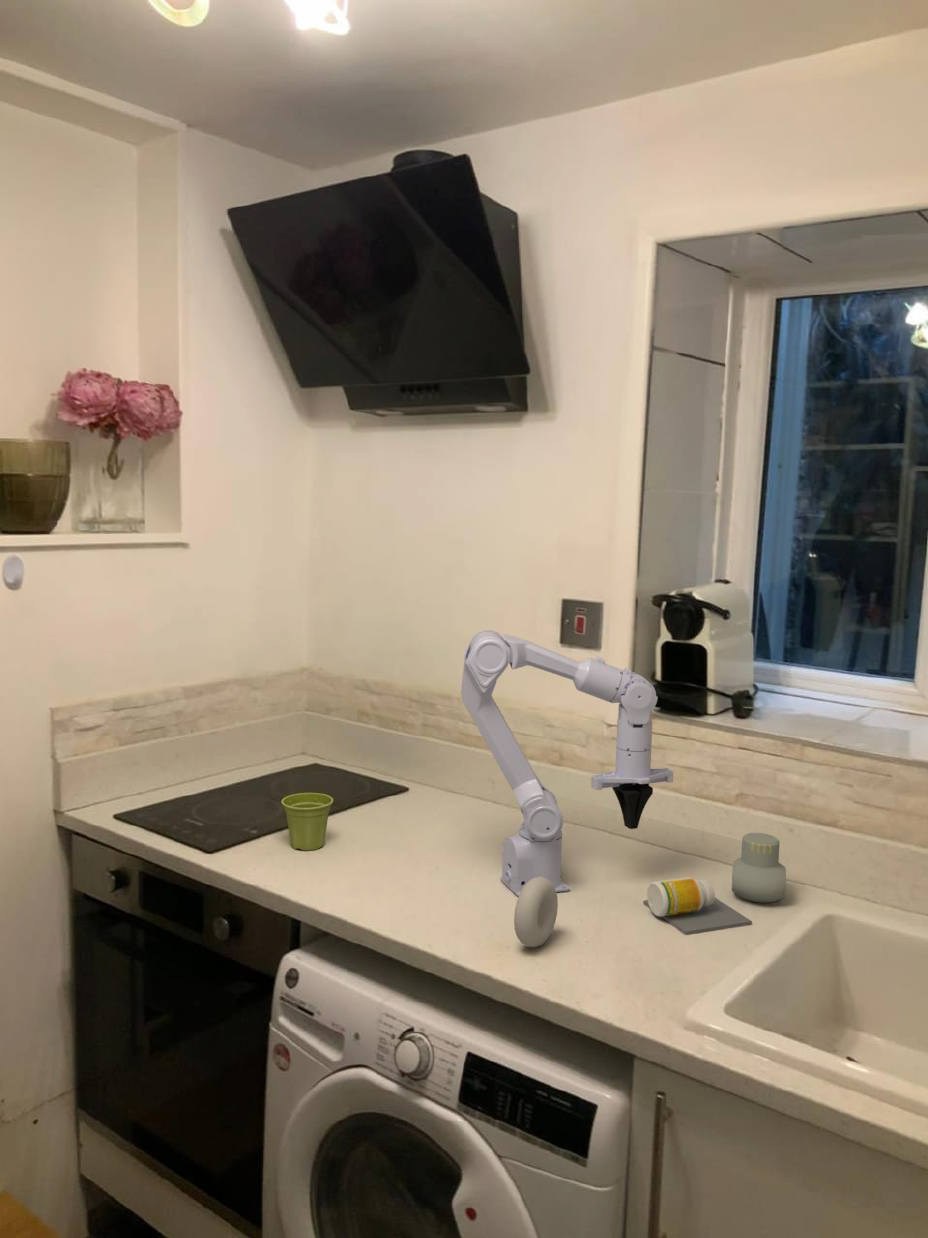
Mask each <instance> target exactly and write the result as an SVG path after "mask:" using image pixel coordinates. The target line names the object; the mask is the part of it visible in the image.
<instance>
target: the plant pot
mask: <svg viewBox="0 0 928 1238" xmlns="http://www.w3.org/2000/svg"><path fill="white" fill-rule="evenodd" d="M333 804H334V798H333V797H331V795H328V794H324V793H319V792H318V793H317V792H302V793H301V792H299V793H294V794H291V795H288V796H284V797H283V798H282V800H281V805H282V806H283V808H284V812H285V813H286V821H287V827H288V833H289V842H290V847H291V848H292V849H294V850H297V849H299V850H301V851H307V852H308V851H314V850H319V849H320V848H321V847H324V845H325V843H326V841H325V840H326V834H327V826H328V820H329V812H330V810H331V807H332V805H333Z"/></svg>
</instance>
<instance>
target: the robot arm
mask: <svg viewBox="0 0 928 1238" xmlns="http://www.w3.org/2000/svg"><path fill="white" fill-rule="evenodd" d="M463 659H464V661H463V671H462V682H461V692H460V693H461V694H460V695H461V699H462V703H463V704H464V705H465V707H466V709H467V711H468V713H469V715H470V717H471V718H472V720H473V722H474V723H475V726H476V728H477V729H478V731H479V732H480V734H481V737H482V738H483V740H484V742H485V743H486V745H487V747H488V749H489V750H490V753H491V754H492V756H493V757H494V760H495V761H496V763H497V765H498V766H499V768H500V770H501V772H502V773H503V775H504V778H505V779H506V781H507V782H508V785H509V787H510V788H511V790H512V792H513V794H514V796H515V798H516V801H517V802H518V805H519V807H520V811H521V814H522V817H523V819H524V821H523V822H522V824H521V825H520V827H519V828H518V832H517V833H516V834H514V835H512V836H508V837H506V838H505V839H504V841H503V845H502V867H501V869H502V870H501V873H502V874H501V876H500V878H499V880H500V881H501V882H502V883H503V884H504V885H505V886H506V887H507V888H508V889H510V890H511V892H512V893H514V895H516V896H517V897H519V895H520V892H521V890H522V889H523V887H524V885H525V884H526V883H527V882H528V881H530V880H531V879H533V878H536V877H543V878H546V879H548V880H550V881H551V882H552V884H553V885H554V887H555V889H556V893H558V892H559V893H560V892H567V891H570V890H571V887H570V886H569V885H568V884H567V883H565V882H564V881H563V880H562V879H561V873H562V872H561V869H562V849H563V848H562V846H563V845H562V844H563V843H562V842H563V831H562V828H563V826H564V818H563V817H564V816H563V813H562V812H561V810H560V807H559V806H558V802H557V801H558V800H557V797H556V796H555V794H554V793H553V792H552V791H550V790H549V789H548V788H546V787H545V785H543V784H542V782H541V780H540V779H539V777H538V776H537V774H536V773H535V771H534V769H533V768H532V766H531V764H530V762H529V760H528V759H527V757H526V755H525V753H524V751H523V749H522V748H521V746H520V744H519V742H518V741H517V739H516V737H515V736H514V733H513V732H512V730H511V728H510V726H509V724H508V723H507V721H506V718H505V717H504V716H503V713H502V712H501V710H500V708H499V706H498V705H497V703H496V701H495V699H494V698H493V696H492V695H493V692H494V689H495V687H496V684H497V680H498V679H499V678H500V677H501V676H502V674H503V673H504V672H505V671H506V669H507V668H508V666H509V665H510V668H511V670H517V669H519V668H523V667H527V666H528V667H529V666H530V667H533V668H534V669H535V668H536V669H539V670H542V671H545V672H548V673H550V674H553V675H556V676H560V677H563V678H566V679H569V680H571V681H572V682H573V684H574V686H575V689H576V690H577V691H579V692H582V693H585V694H586V695H589V696H592V697H595V698H597V699H600V700H602V701H605V702H608V703H610V704H618V703H619V704H618V712H617V713H618V715H617V720H616V749H615V770H612V771H607V772H604V773H601V774H595V775H591V779H590V783H591V785H590V786H591V788H592V789H594V790H596V791H600V790H603V789H605V788H606V789H607V788H612V790H613V792H614V794H615V796H616V799H617V801H618V803H619V807H620V810H621V814H622V818H623V823H624V824H623V825H624V827H626V828H627V829H629V830H635V829H638V827H639V824H640V820H641V817H642V814H643V811H644V808H645V806H646V804H647V803H648V801H649V799H650V798H651V796H652V795H653V793H654V792H653V791H654V788H653V787H652V786H651V785H650V784H656V783H665V782H666V783H669V784H670V783H673V782H674V770H671V769H670V768H651V765H652V764H651V762H652V745H653V744H652V742H653V741H652V739H653V720H652V719H653V710H654V708H656V707H655V706H656V705H657V704H658V698H659V697H658V696H657V692H656V689H655V687H654V685H653V684H652V683H650V682H649V681H648V680H647V678H645V677H644V676H642V675H641V674H638V673H637V672H634V671H632V670H631V669H628V668H626V667H625V668H624V669H621V668H618V667H615V666H613V665H610V664H607V663H605V662H606V661H605V659H604V658H602V657H599V656H596V657H595V658H591V657H588V658H587V657H586V658H585V659H583V660H579V661H577V660H575V659H572V658H570V657H567V656H565V655H563V654H560V653H558V652H556V651H553V650H551V649H548V648H546V647H544V646H541V645H540V644H537V643H534V642H532V641H529V640H526V639H524V638H520V637H517V636H513V635H510V634H505V633H503V636H502V635H501V634H500V633H499V632H497V631H495V630H491V629H484V630H481V631H479V632H477V633H475V634H474V635H473V637H472V638H471V639H470V641H469V644H468V646H467V649H466V651H465V653H464V658H463Z"/></svg>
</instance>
